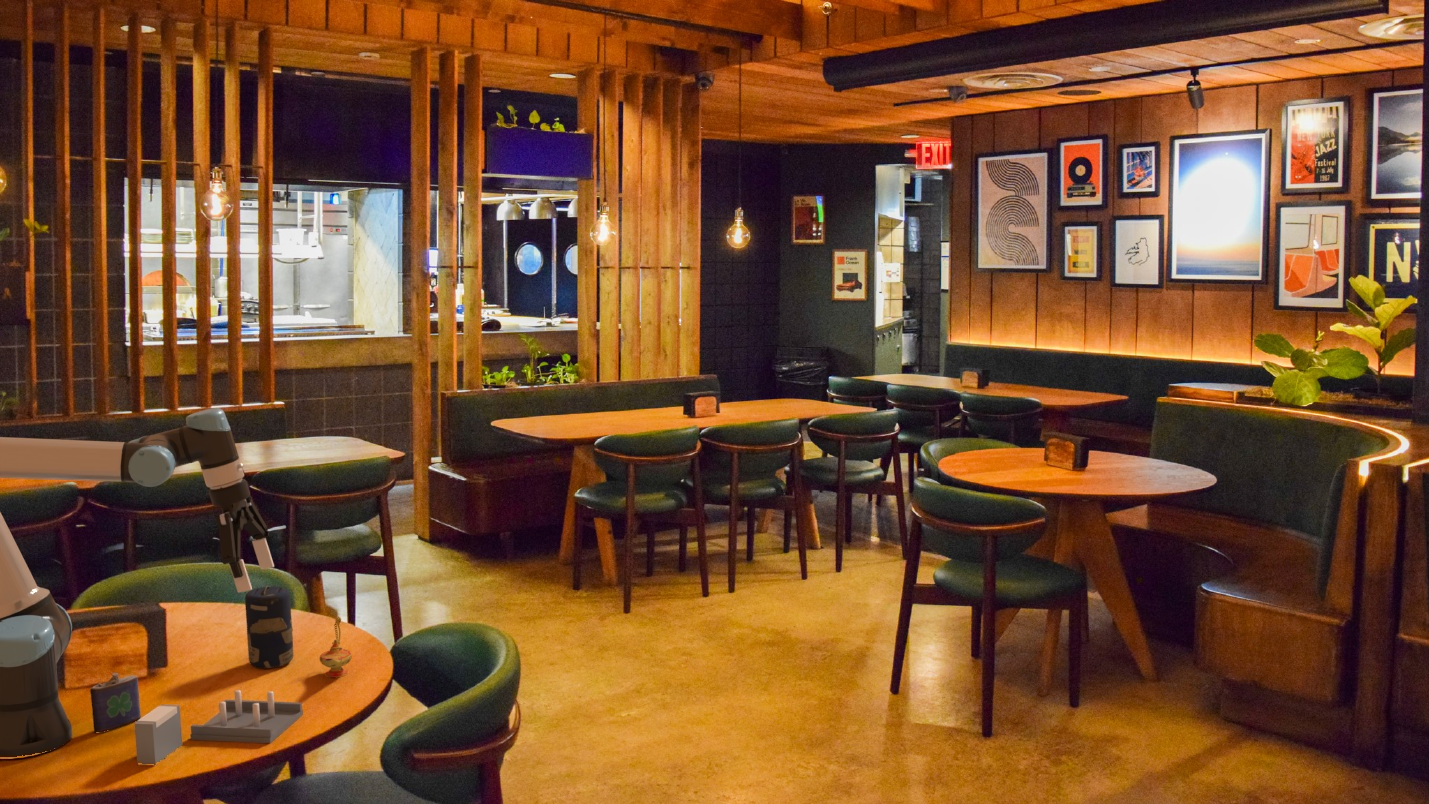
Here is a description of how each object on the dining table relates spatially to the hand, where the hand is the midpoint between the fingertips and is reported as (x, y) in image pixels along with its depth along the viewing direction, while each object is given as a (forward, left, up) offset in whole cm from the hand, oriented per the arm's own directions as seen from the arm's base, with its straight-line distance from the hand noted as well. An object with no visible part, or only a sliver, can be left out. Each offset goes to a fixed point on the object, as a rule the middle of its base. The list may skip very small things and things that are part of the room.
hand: (256, 579), depth 255 cm
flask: (-20, -20, -25) cm, 38 cm away
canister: (-6, +16, -25) cm, 30 cm away
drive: (-4, -32, -25) cm, 40 cm away
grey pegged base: (+6, -18, -24) cm, 31 cm away
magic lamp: (+11, +10, -25) cm, 29 cm away
